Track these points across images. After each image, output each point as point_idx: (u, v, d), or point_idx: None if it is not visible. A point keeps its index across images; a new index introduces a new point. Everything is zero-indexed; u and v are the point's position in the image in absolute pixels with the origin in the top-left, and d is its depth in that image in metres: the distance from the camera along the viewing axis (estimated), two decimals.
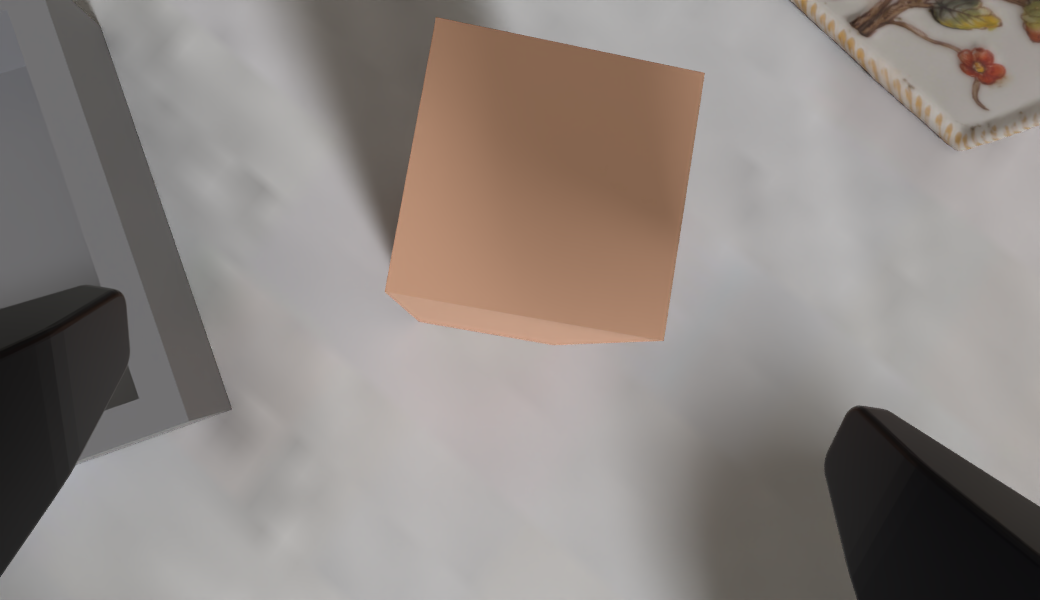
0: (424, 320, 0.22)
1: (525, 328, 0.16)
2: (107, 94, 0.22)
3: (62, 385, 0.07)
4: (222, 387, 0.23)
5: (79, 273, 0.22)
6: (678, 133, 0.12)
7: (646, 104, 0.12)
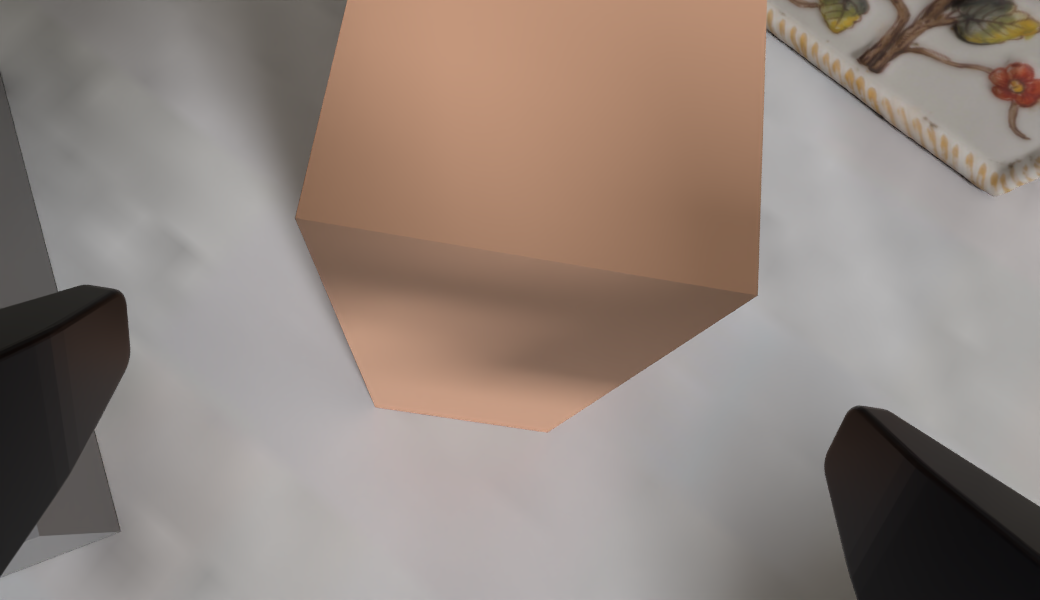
0: (381, 396, 0.17)
1: (519, 355, 0.11)
2: None
3: (62, 385, 0.07)
4: (109, 501, 0.17)
5: None
6: (742, 4, 0.08)
7: None
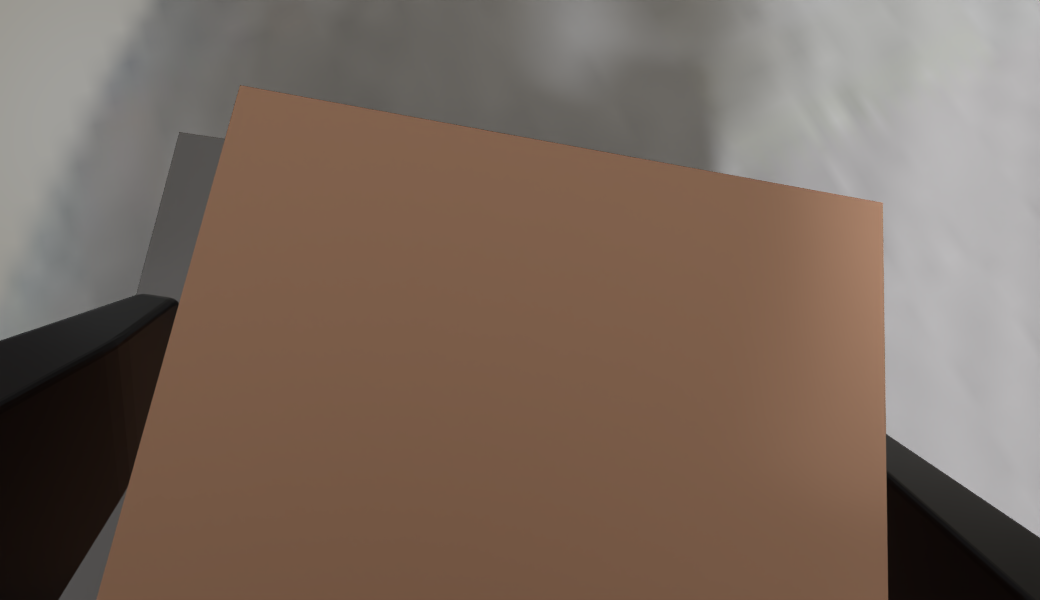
0: None
1: None
2: None
3: (126, 394, 0.07)
4: None
5: None
6: (844, 345, 0.05)
7: (762, 277, 0.05)
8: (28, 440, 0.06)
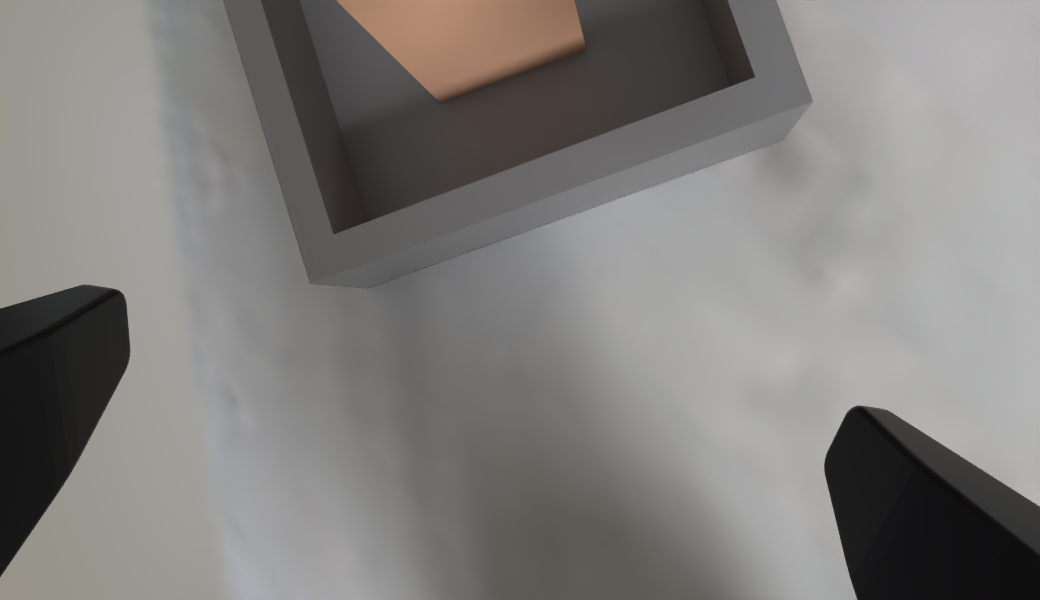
0: (426, 77, 0.19)
1: None
2: None
3: (62, 385, 0.07)
4: None
5: None
6: None
7: None
8: None
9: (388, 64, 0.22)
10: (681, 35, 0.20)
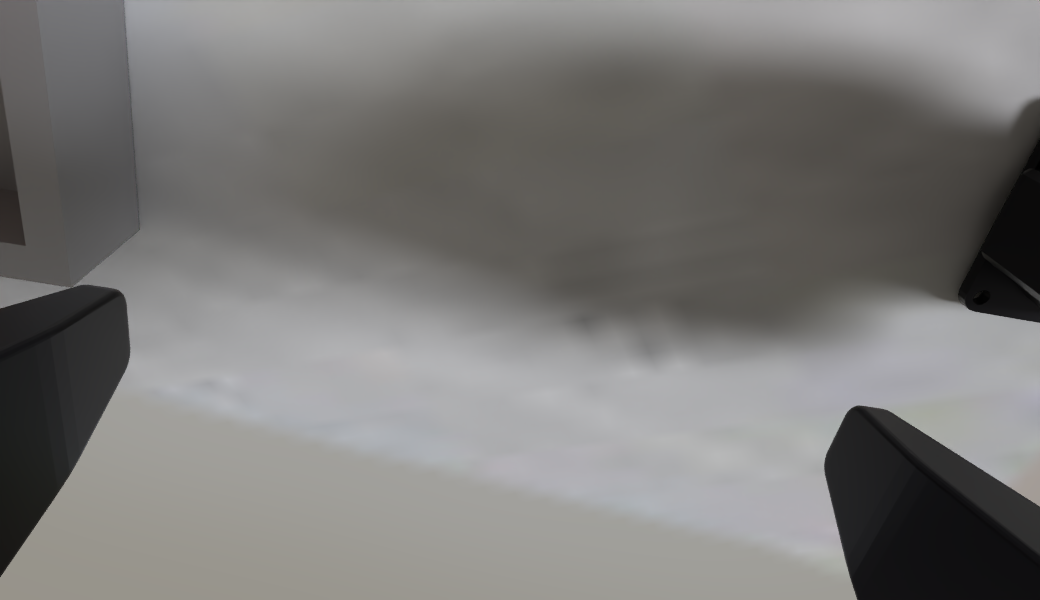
0: None
1: None
2: None
3: (62, 385, 0.07)
4: None
5: None
6: None
7: None
8: None
9: None
10: None
